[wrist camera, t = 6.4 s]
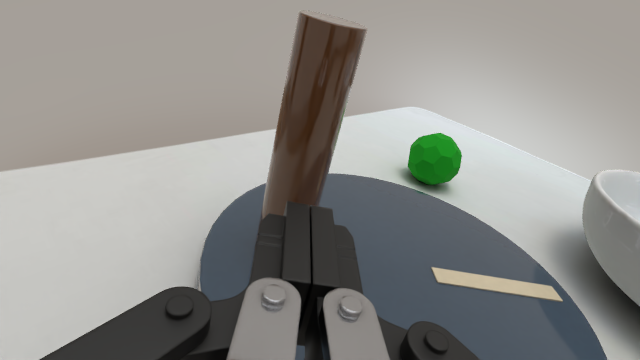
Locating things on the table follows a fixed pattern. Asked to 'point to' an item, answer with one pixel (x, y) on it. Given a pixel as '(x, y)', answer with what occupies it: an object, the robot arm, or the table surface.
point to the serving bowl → (615, 227)
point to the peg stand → (392, 227)
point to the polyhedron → (434, 159)
